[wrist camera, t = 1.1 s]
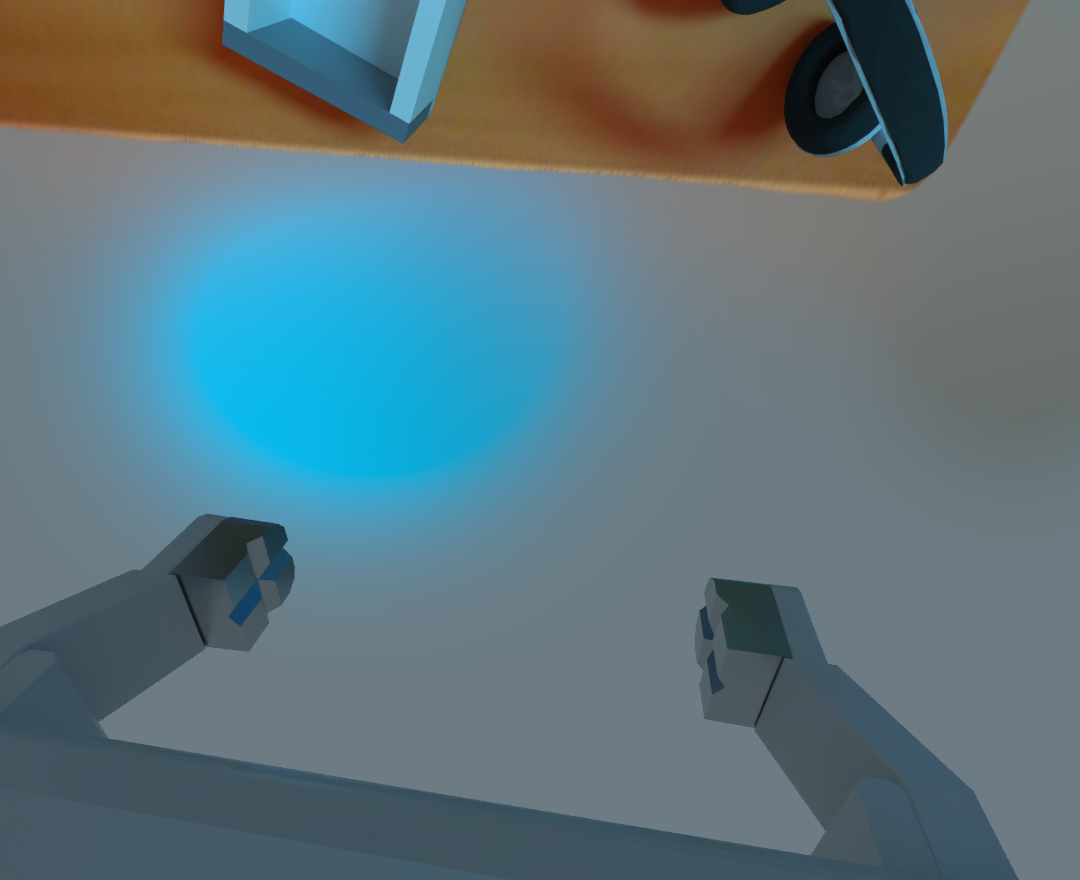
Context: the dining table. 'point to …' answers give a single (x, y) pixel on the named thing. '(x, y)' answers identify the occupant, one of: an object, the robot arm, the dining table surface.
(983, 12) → the dining table surface
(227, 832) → the robot arm
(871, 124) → the headphones
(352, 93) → the u-shaped bracket
